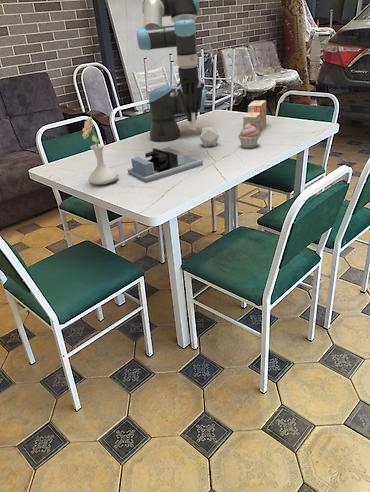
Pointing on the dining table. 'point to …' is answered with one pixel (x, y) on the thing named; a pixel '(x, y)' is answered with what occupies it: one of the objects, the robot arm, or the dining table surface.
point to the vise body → (147, 174)
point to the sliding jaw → (176, 156)
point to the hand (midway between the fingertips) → (192, 128)
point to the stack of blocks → (256, 115)
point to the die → (209, 136)
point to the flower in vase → (98, 159)
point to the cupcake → (249, 136)
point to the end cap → (161, 160)
